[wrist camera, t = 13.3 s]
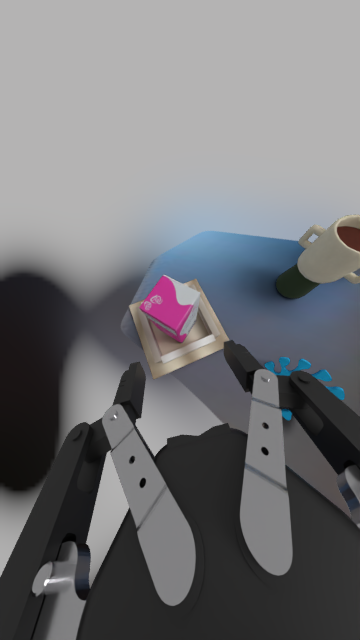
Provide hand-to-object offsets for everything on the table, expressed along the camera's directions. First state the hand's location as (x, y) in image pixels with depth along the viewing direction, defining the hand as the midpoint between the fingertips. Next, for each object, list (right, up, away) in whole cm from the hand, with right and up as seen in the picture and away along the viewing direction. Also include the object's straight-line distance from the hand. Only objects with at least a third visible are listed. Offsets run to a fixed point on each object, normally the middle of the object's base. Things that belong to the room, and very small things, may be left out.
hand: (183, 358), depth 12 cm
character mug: (+24, +11, +17) cm, 31 cm away
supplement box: (-1, +3, +15) cm, 15 cm away
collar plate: (-1, +3, +16) cm, 16 cm away
